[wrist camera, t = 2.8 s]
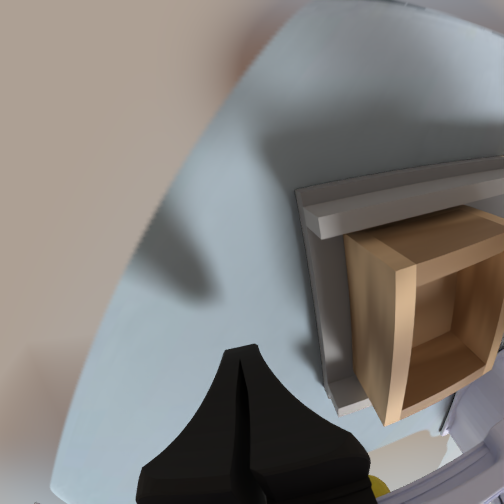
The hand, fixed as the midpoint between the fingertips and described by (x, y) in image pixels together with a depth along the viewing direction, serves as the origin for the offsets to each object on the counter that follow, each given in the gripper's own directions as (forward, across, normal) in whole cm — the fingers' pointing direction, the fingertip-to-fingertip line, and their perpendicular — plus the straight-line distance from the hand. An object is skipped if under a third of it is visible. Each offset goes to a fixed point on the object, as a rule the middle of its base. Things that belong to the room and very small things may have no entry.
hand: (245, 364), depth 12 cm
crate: (+2, -9, 0) cm, 9 cm away
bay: (+3, -12, 0) cm, 13 cm away
